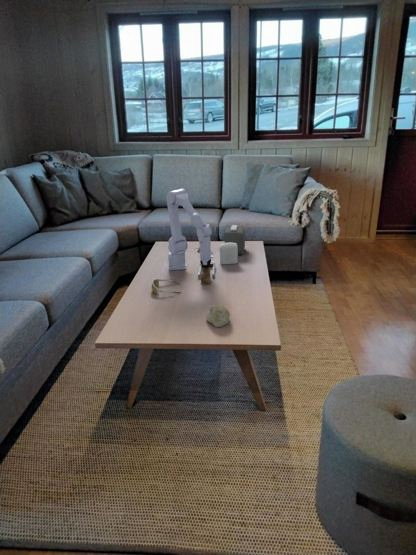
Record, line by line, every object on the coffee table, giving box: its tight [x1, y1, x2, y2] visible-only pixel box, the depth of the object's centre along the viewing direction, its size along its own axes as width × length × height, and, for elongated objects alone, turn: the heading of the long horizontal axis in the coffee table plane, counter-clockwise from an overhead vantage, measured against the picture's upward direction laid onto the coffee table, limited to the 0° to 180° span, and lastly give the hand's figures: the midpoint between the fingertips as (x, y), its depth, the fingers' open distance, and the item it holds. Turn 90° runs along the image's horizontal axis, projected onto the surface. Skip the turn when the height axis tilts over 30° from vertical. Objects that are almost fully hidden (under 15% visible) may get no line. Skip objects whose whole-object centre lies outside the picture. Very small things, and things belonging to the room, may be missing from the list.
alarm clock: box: [223, 224, 246, 256], centre depth 253 cm, size 16×11×16 cm
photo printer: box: [219, 242, 239, 265], centre depth 235 cm, size 10×4×12 cm, turn 98°
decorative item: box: [205, 304, 231, 328], centre depth 175 cm, size 12×9×10 cm
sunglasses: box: [151, 278, 182, 296], centre depth 207 cm, size 14×15×5 cm
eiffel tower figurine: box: [193, 246, 214, 256], centre depth 256 cm, size 15×10×13 cm
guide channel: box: [197, 262, 216, 279], centre depth 226 cm, size 8×16×2 cm, turn 177°
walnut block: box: [200, 268, 211, 285], centre depth 214 cm, size 4×8×6 cm, turn 177°
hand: (206, 272), depth 219 cm, fingers closed
